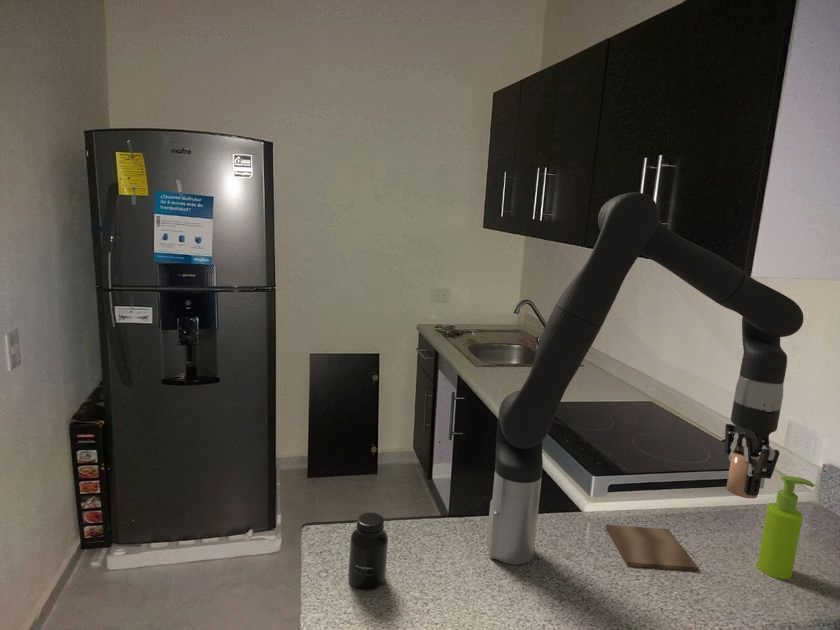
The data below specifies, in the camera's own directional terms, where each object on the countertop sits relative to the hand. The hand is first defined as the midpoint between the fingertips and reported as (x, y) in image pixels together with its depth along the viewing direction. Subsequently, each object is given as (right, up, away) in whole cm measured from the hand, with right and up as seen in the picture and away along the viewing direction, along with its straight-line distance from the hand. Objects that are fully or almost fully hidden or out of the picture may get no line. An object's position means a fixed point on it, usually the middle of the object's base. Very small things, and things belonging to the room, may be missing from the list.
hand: (742, 486), depth 104 cm
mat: (-13, -17, +12) cm, 24 cm away
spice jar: (0, -1, 0) cm, 1 cm away
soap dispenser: (+11, -19, +6) cm, 23 cm away
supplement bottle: (-71, -16, -4) cm, 73 cm away
